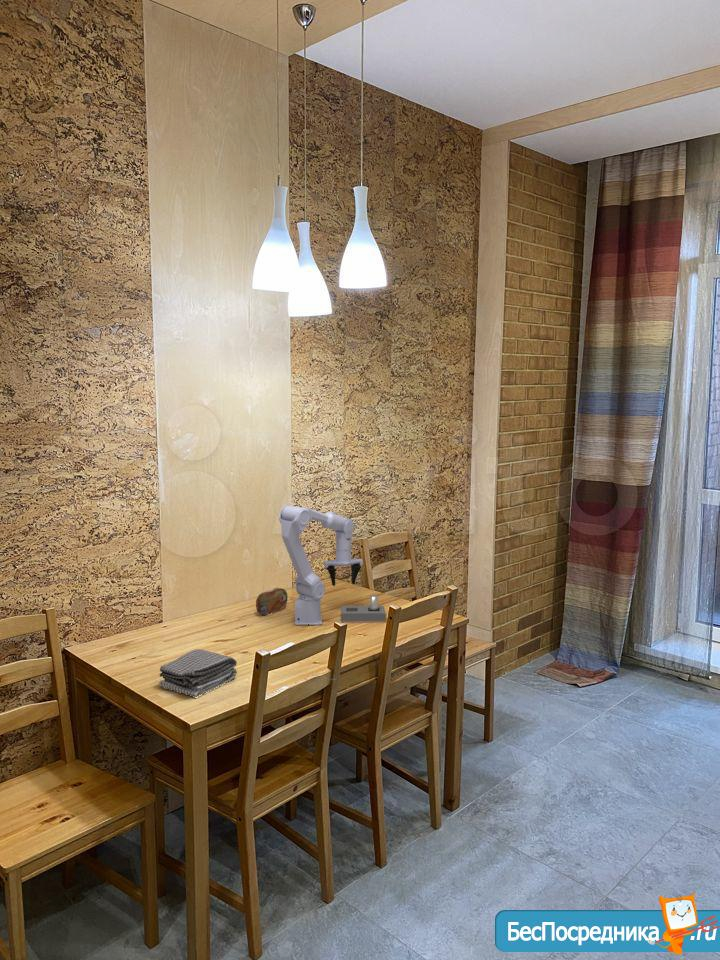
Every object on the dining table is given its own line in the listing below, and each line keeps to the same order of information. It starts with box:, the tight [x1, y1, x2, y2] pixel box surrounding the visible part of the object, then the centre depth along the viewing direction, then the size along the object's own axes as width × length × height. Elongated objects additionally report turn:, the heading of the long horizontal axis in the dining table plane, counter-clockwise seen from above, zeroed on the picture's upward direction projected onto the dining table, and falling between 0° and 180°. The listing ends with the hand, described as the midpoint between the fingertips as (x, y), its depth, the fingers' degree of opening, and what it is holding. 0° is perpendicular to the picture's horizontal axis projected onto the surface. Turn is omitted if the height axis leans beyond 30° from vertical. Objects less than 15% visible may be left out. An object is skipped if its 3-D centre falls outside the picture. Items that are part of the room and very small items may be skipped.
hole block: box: [340, 605, 387, 624], centre depth 276 cm, size 16×9×4 cm, turn 92°
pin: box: [369, 594, 379, 611], centre depth 276 cm, size 3×3×8 cm
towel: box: [158, 648, 238, 697], centre depth 219 cm, size 15×18×8 cm
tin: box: [255, 587, 288, 616], centre depth 284 cm, size 15×3×8 cm, turn 143°
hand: (343, 584), depth 284 cm, fingers open, 7 cm apart
